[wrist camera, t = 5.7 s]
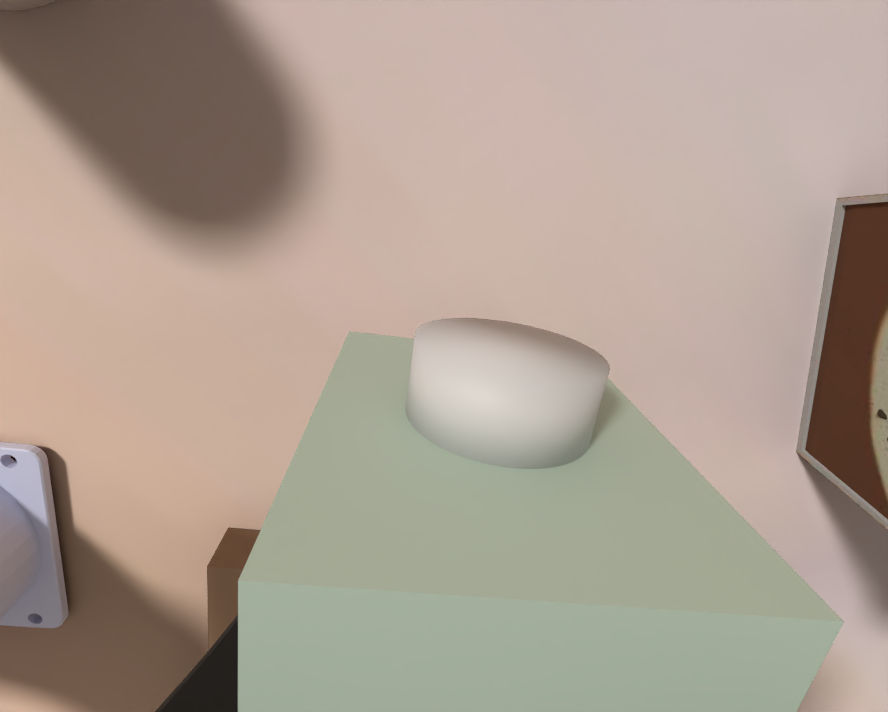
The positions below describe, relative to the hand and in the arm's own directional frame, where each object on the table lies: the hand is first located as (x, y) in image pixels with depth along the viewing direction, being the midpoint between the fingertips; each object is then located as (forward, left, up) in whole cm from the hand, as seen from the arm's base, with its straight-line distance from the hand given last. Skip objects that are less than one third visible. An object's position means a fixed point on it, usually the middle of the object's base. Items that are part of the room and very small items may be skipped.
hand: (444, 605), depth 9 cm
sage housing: (0, 0, -2) cm, 2 cm away
